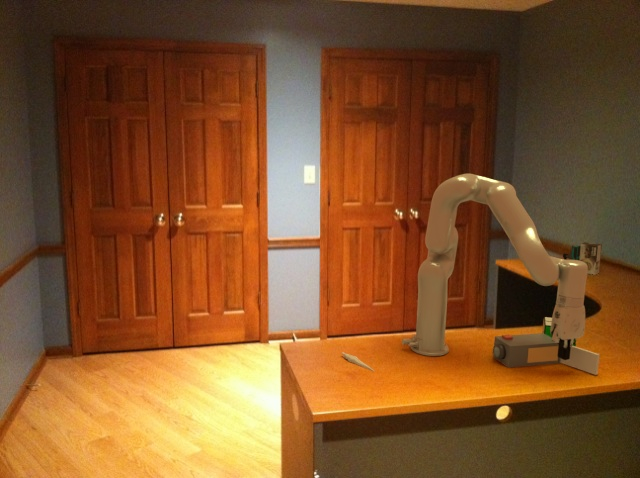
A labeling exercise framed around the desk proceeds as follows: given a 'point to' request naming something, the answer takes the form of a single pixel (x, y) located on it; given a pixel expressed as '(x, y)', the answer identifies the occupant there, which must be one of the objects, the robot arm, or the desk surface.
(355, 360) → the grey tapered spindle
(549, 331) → the puzzle cube
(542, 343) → the camera box
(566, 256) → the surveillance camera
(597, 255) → the coffee box
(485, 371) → the desk surface
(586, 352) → the side door
